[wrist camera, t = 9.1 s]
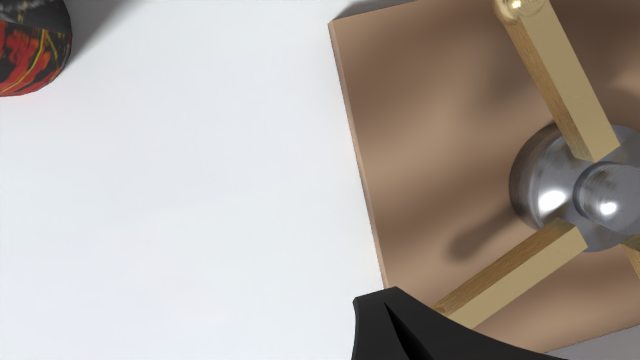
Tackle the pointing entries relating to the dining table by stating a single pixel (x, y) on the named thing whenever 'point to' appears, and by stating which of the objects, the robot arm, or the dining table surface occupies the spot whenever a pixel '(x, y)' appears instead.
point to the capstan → (557, 174)
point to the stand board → (478, 154)
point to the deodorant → (32, 44)
